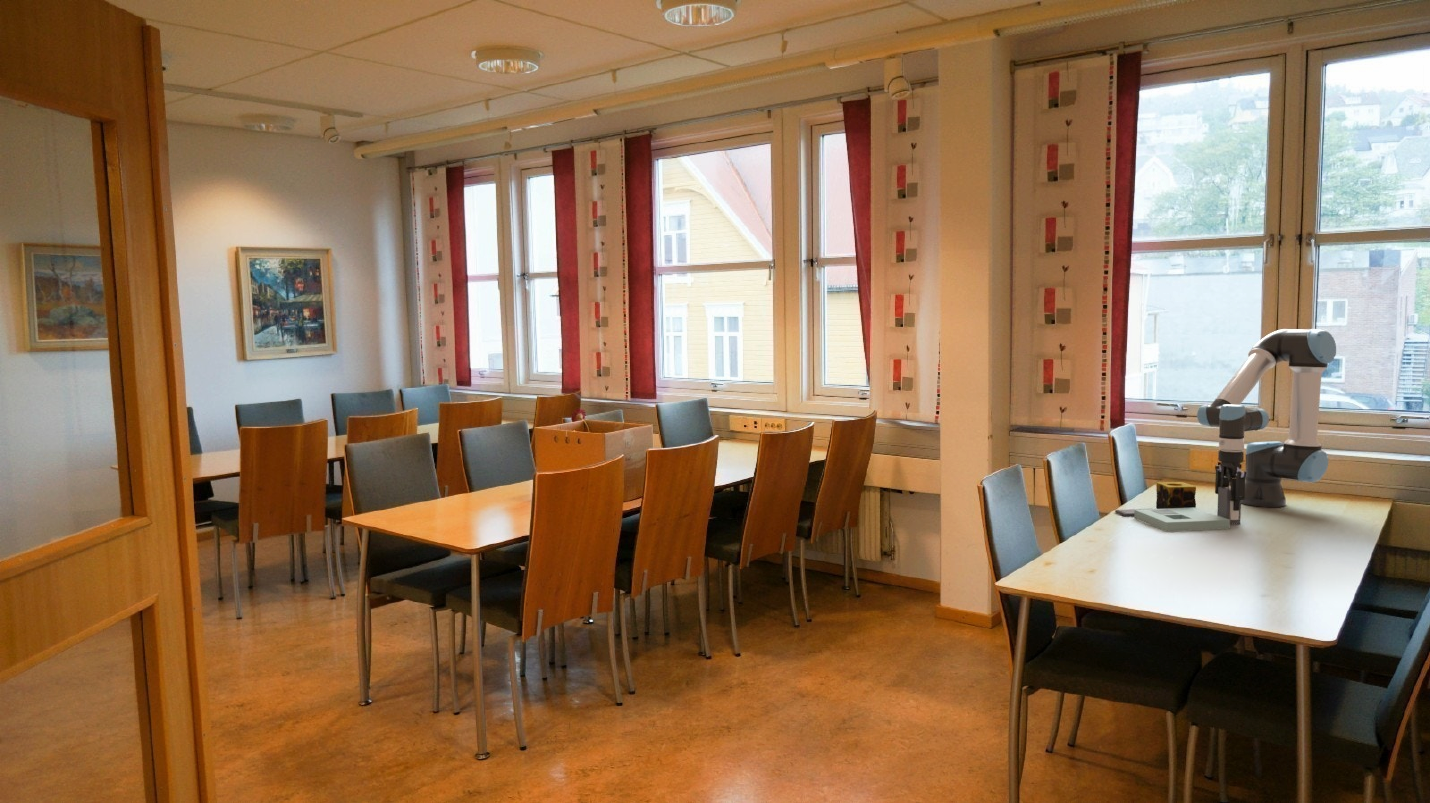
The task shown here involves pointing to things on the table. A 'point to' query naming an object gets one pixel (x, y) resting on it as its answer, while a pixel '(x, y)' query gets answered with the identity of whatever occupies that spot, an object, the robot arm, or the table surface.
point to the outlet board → (1182, 519)
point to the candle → (1175, 495)
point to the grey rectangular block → (1226, 504)
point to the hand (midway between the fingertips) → (1228, 517)
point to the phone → (1127, 512)
